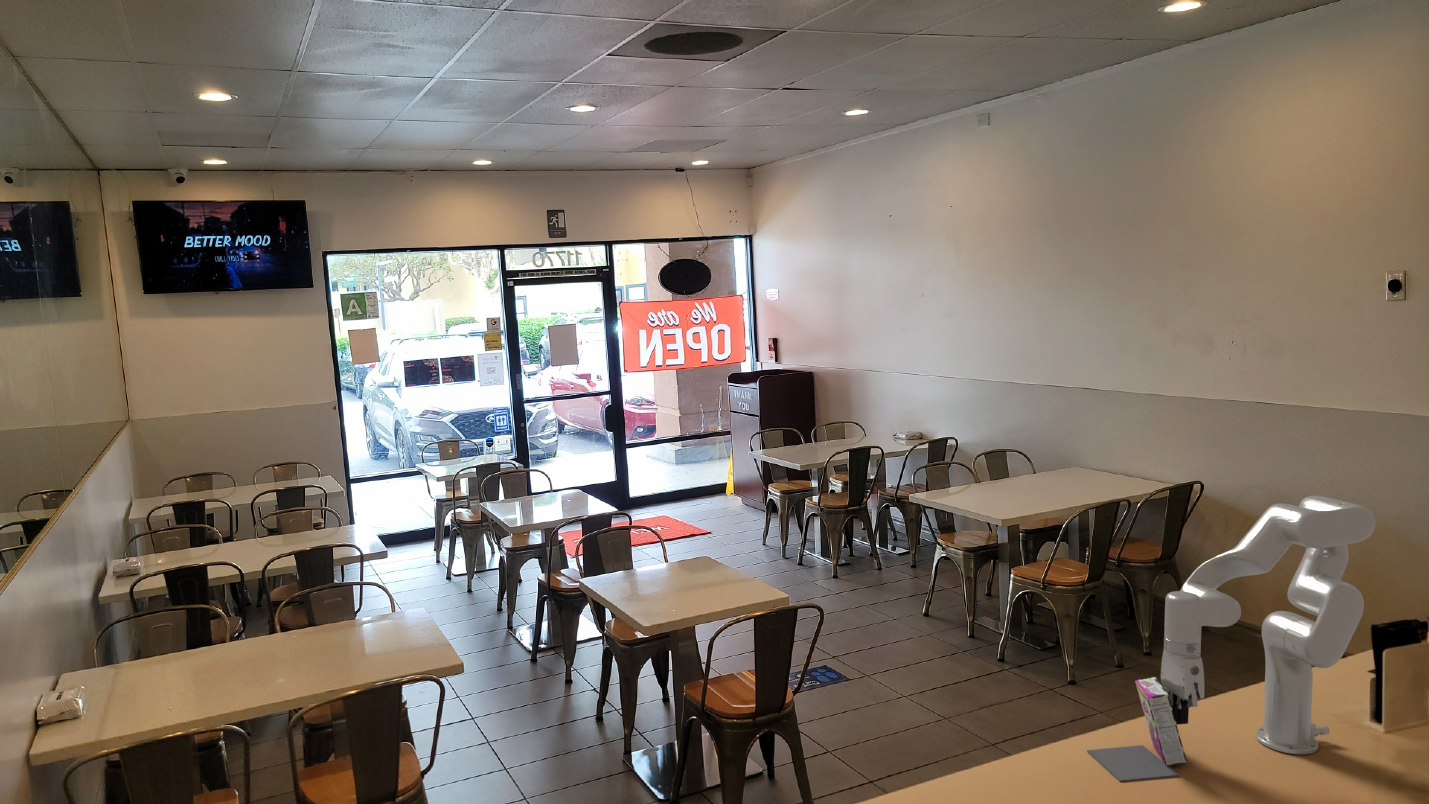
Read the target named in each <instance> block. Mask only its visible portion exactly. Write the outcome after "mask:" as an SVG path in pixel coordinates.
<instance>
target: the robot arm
mask: <svg viewBox="0 0 1429 804" xmlns="http://www.w3.org/2000/svg"><path fill="white" fill-rule="evenodd" d="M1376 524H1377V523H1376V517H1375V515H1374V514H1373V512H1372V511H1371V510H1369V508H1367V507H1365V506H1363V505H1360V504H1357V503H1352V502H1348V501H1345V500H1340V499H1337V498H1332V497H1328V496H1323V495H1322V496H1321V495H1308V496H1306V497H1304V498H1302V500H1301V501H1300V503H1299V505H1298V506H1297V505H1294V504H1290V503H1289V504H1288V503H1283V502H1282V503H1280V502H1279V503H1274V504H1272V505H1270V506H1269V507H1268V508H1266V510H1265V511H1264V512H1263V513H1262V514H1261V516H1259V518H1258V520H1256V521H1255V523H1254V524H1253V525H1252V527H1251V528H1250V529H1249V530H1248V531H1247V532H1246V534H1245V535H1244V536H1243V537H1242V538H1241V540H1240V541H1239V542H1238V543H1237V544H1236V546H1235V547H1233V548H1231V549H1229V550H1227V551H1224V552H1221V553H1220V554H1218V555H1215V556H1214V557H1212V558H1210V559H1207V561H1204V562H1203V563H1202V564H1200V565H1199V566H1198V567H1196V569H1195V570H1193V572H1192V573H1191V574H1190V576H1189V577H1188V578H1187V579H1186V580H1185V581H1184V583H1183V585H1182V586H1181V588H1180V590H1178V591H1177V590H1176V591H1170V592H1169V593H1167V594H1166V596H1165V599H1164V600H1165V603H1164V604H1165V605H1164V635H1163V636H1164V637H1163V652H1162V657H1161V664H1160V665H1161V666H1160V668H1161V669H1160V682H1161V683H1160V684H1161V685H1162V687H1163V688H1164V689H1165V691H1166V692H1167V693H1168V695H1169V699H1170V703H1171V706H1172V710H1173V713H1174V717H1175V720H1176V724H1177V726H1178V725H1187V724H1188V723H1189V714H1190V713H1189V710H1190V709H1191V708H1196V707H1198V706H1199V704H1198V699H1199V700H1203V699H1204V698H1205V671H1204V663H1203V659H1202V656H1201V647H1202V646H1201V644H1202V643H1201V642H1202V627H1204V626H1205V627H1214V628H1216V627H1217V628H1226V627H1230V626H1234V624H1236V623H1237V622H1238V621H1239V620H1240V618H1241V616H1242V608H1241V605H1240V604H1239V603H1240V602H1238V601H1237V600H1236V599H1235V598H1233V597H1232V596H1230V595H1229V594H1226V593H1223V592H1221V591H1219V590H1217V589H1218V588H1219V587H1220V586H1222V585H1223V584H1224V583H1226V582H1227V581H1229V580H1232V579H1236V578H1240V577H1246V576H1248V577H1249V576H1258V575H1262V574H1268V573H1269V572H1271V570H1272V569H1273V568H1274V567H1275V565H1276V564H1277V563H1278V562H1279V561H1280V560H1281V558H1282V557H1283V556H1284V554H1285V553H1286V552H1287V551H1288V550H1289V548H1291V547H1292V546H1293V545H1294V544H1295V545H1298V546H1300V547H1301V546H1302V547H1304V548H1305V552H1304V554H1303V557H1302V559H1301V561H1300V563H1299V565H1298V567H1297V570H1296V571H1295V573H1294V575H1293V577H1292V579H1291V581H1290V584H1289V585H1288V589H1287V593H1286V594H1287V600H1288V601H1289V603H1290V604H1292V605H1293V606H1294V607H1295V608H1297V609H1299V610H1301V611H1303V612H1306V613H1308V614H1311V615H1313V616H1315V617H1317V618H1316V621H1314V620H1312V619H1311V618H1307V617H1304V616H1302V615H1299V614H1297V613H1295V612H1292V611H1285V610H1276V611H1273V612H1271V613H1269V614H1268V615H1267V616H1266V617H1265V618H1264V620H1263V623H1262V624H1261V638H1262V643H1263V648H1264V657H1265V658H1264V659H1265V669H1264V670H1265V672H1264V673H1265V674H1264V675H1265V676H1264V702H1263V703H1264V704H1263V705H1264V706H1263V726H1261V727H1260V728H1258V729H1257V730H1256V731H1255V737H1256V740H1257V741H1258V742H1259V743H1260V744H1262V745H1263V746H1265V747H1267V748H1269V749H1272V750H1274V751H1277V752H1281V753H1285V754H1292V755H1310V754H1314V753H1315V752H1316V753H1317V751H1318V750H1319V742H1318V740H1317V739H1316V737H1318V736H1319V735H1320V736H1322V735H1329V734H1330V728H1329V727H1328V726H1327V725H1322V726H1321V725H1320V726H1317V725H1316V723H1314V722H1312V708H1313V707H1312V706H1313V685H1314V684H1313V683H1314V682H1313V681H1314V679H1313V677H1314V674H1313V667H1314V668H1318V669H1328V668H1331V667H1333V666H1335V665H1336V664H1337V663H1338V662H1340V660H1341V659H1342V658H1343V655H1344V653H1345V652H1346V650H1347V648H1348V645H1349V644H1350V641H1352V637H1353V636H1354V634H1355V632H1356V630H1357V628H1358V626H1359V624H1360V622H1361V619H1362V616H1363V614H1364V607H1365V605H1364V604H1365V601H1364V597H1363V594H1362V593H1361V592H1360V590H1359V589H1358V588H1357V587H1355V586H1354V585H1353V584H1350V583H1348V582H1345V581H1342V578H1343V575H1344V573H1345V571H1346V568H1347V566H1348V562H1349V558H1350V557H1349V549H1348V545H1353V544H1357V543H1360V542H1361V543H1362V542H1364V541H1365V540H1367V539H1368V538H1370V537H1371V536H1372V534H1373V533H1374V532H1375V528H1376Z"/></svg>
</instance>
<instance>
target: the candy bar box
mask: <svg viewBox="0 0 1429 804" xmlns="http://www.w3.org/2000/svg"><path fill="white" fill-rule="evenodd" d="M1134 682H1135V687H1136V689H1137V692H1138V696H1139V699H1140V704H1141V706H1142V707H1141V708H1142V710H1143V715H1144V718H1145V721H1146V724H1147V728H1148V733H1149V735H1150V739H1151V743H1152V746H1153V748H1154V749H1155V751H1156V752H1157V753H1158V755H1159V756H1160V757H1159V758H1161V760H1162V761H1163V762H1164V763H1165V765H1166V766H1169V767H1170V766H1173V765H1180V764H1186V763H1188V760H1187V756H1186V753H1185V750H1184V746H1183V742H1182V740H1181V736H1180V731H1179V727H1178V725H1177V724H1176V720H1175V717H1174V713H1173V710H1172V704H1171V703H1170V695H1169V693H1168V692H1167V691H1166V689H1165V688H1164V686H1163V685H1162V683H1160V681H1159V680H1158V679H1157V677H1155V676H1153V677H1148V678H1143V679H1137V680H1135V681H1134Z"/></svg>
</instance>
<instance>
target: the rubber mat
mask: <svg viewBox="0 0 1429 804" xmlns="http://www.w3.org/2000/svg"><path fill="white" fill-rule="evenodd" d="M1086 752H1087V753H1088V754H1089V755H1090V756H1091V757H1092V758H1093V757H1094V758H1093V759H1094V760H1095V761H1097V763H1099V765H1101V766H1102V767H1103V768H1104V769H1105V770H1106V769H1107V770H1108V771H1109V772H1108V771H1107V770H1106V771H1107V772H1108V773H1110V774H1111V775H1112V776H1113V777H1114V778H1115V779H1116V778H1117V779H1116V780H1117V781H1118V780H1119V781H1121V782H1120V783H1122V781H1124V782H1133V781H1134V780H1135V781H1144V780H1153V779H1164V778H1165V779H1166V778H1175V777H1180V775H1179V773H1177V771H1175V770H1174V769H1172V767H1170V765H1169V766H1166V765H1165V763H1164V761H1163V760H1162V759H1160V757H1158V756H1156V755H1155V754H1154V753H1153V752H1152V751H1150V749H1148V748H1147V747H1146V746H1144V745H1142V744H1141V745H1131V746H1130V745H1129V746H1119V747H1117V746H1116V747H1108V748H1107V747H1106V748H1098V749H1087V751H1086ZM1128 780H1130V781H1128ZM1119 781H1118V782H1119Z"/></svg>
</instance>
